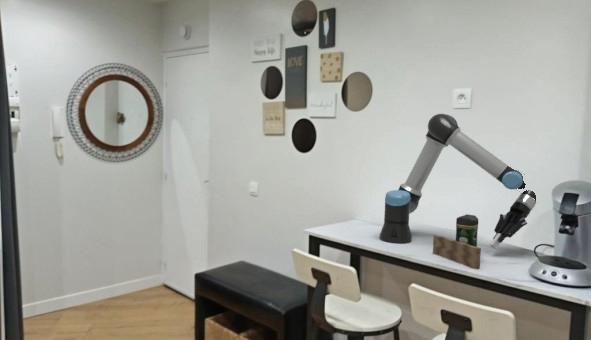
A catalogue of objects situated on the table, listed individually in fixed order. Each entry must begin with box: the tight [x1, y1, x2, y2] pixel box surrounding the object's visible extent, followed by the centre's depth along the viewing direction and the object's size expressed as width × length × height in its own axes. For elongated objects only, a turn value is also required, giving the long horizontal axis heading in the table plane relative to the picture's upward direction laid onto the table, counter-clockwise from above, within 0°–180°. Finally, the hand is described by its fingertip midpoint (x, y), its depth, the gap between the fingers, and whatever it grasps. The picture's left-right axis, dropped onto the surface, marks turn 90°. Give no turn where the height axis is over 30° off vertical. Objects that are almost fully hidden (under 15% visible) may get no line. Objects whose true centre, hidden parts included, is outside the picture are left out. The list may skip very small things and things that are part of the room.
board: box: [432, 234, 482, 270], centre depth 186 cm, size 24×2×8 cm, turn 25°
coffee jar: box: [455, 213, 479, 247], centre depth 189 cm, size 10×8×19 cm
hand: (492, 246), depth 195 cm, fingers closed
